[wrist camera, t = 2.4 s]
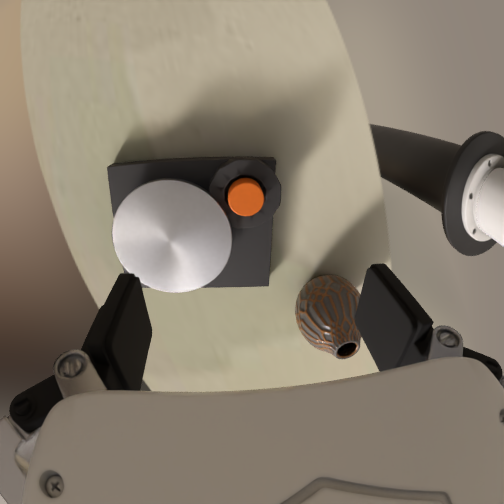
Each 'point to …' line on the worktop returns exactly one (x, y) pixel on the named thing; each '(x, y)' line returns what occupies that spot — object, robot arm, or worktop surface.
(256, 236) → the scale
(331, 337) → the vase
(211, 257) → the pan
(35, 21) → the worktop surface
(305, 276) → the worktop surface
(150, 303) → the worktop surface
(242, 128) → the worktop surface
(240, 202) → the tare button
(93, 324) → the robot arm
